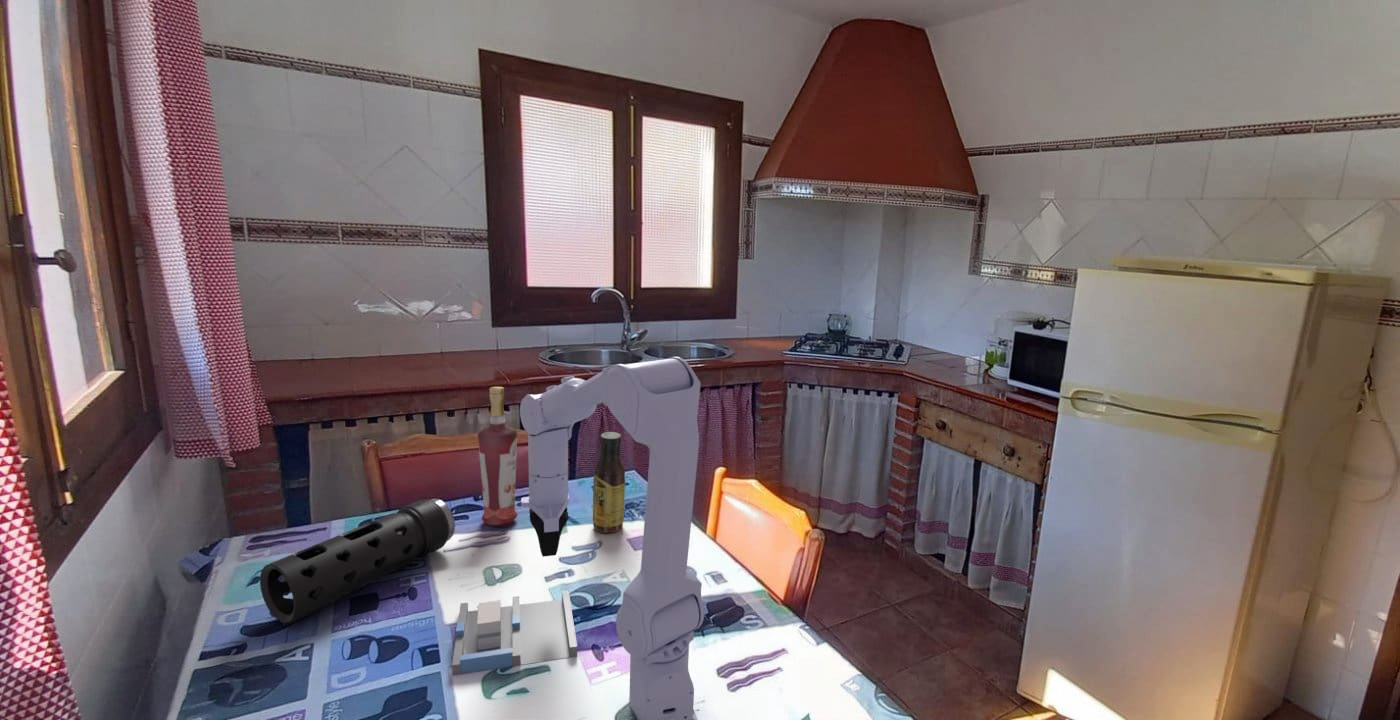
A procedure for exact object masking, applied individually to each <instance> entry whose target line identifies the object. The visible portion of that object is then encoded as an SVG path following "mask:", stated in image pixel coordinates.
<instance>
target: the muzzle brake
mask: <svg viewBox="0 0 1400 720" xmlns="http://www.w3.org/2000/svg"><path fill="white" fill-rule="evenodd" d="M455 530H456V523H455V518H454V514H453V512H452V510H451V509H450V507H449V506H448V505H447V503H445V502H444V500H442V499H439V498H432V499H427V498H426V499H425V498H424V499H419V500H417V501H415V502H412V503H410V504H407V505H405V506H402V507H401V508H400V509H398V510H397V511H396V512H394V513H393V512H392V513H390V514H387V515H385V516H382V517H380V518H377V519H375V520H373V521H369V522H368V523H365V524H362V525H360V526H358V527H356V528H355V527H354V528H353V529H351V530H348V531H346V532H344V533H341V534H337V535H336V536H334V537H330V538H329V539H326V540H324V541H321V542H319V543H316V544H314V545H312V546H309V547H307V548H304V549H302V550H299V551H297V552H295V553H292V554H290V555H287V556H285V557H282V558H280V559H278V560H275V561H273V562H270V563H268V564H265V565H264V566H263V567H262V568H261V569H262V570H261V572H260V576H259V584H260V592H261V596H262V598H263V602H264V603H265V605H266V608H267V609H268V611H269V612H270V613H271V614H272V616H273V617H274V618H275V619H276V620H278V621H279V622H280V623H282V625H285V626H290V625H291V624H294V623H296V622H298V621H300V620H302V619H304V618H306V617H307V616H310V615H312V614H313V613H315V612H317V611H318V612H319V610H322V609H324V608H325V607H328V606H330V605H331V604H334V603H335V602H337V601H340V600H341V599H343V598H345V597H347V596H348V595H349V594H350V593H352V592H354V591H356V590H361V589H364V587H365V586H366V585H368V584H369V583H372V582H373V581H375V580H377V579H380V578H381V577H383V576H384V577H385V576H386V575H387V574H390V573H392V572H393V571H394V572H400V571H401V570H403V569H405V568H408V567H409V566H411V565H413V564H414V563H415V560H416V559H419V558H420V559H422V558H425V557H427V556H428V555H431V554H433V553H435V552H436V551H439V550H441V549H442V548H444V546H445V545H446V543H447V542H448V541H449V540H451V539H452V537H453V536H454V534H455ZM281 576H282V577H284V578H283V580H279V578H280V577H281ZM289 594H291V596H292V598H286V597H284V596H289Z"/></svg>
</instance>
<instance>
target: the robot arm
mask: <svg viewBox="0 0 1400 720" xmlns="http://www.w3.org/2000/svg"><path fill="white" fill-rule="evenodd" d="M560 382H561V384H558V385H550V386H548V387H546V388H545V389H546V391H545V392H542V393H538V394H531V393H530V394H529V393H528V394H526V395H525V397H523V398H522V400H521V402H520V406H519V416H520V421H521V424H522V427H523V429H524V430H525V432H526V433H527V435H528V436H527V438H528V439H527V443H528V445H527V447H528V448H527V449H528V450H527V451H528V454H527V455H528V496H524V497H522V498H520V506H521V507H523V508H525V507H526V508H527V507H528V508H529V511H528V512H529V521H530V524H531V526H532V527H533V529H534V530H535V532H536V536H537V539H538V545H539V550H540V553H541V556H542V557H551V556H552V557H553V556H557V552H558V549H559V544H560V540H561V535H562V532H563V530H564V527H565V526H566V524H567V522H568V520H569V512H568V506H569V504H570V495H569V470H568V469H569V456H568V455H569V453H568V452H569V447H568V446H569V440H571V438H572V432H573V427H574V425H575V423H577V422H580V421H582V420H586V419H588V418H590V416H592V415H593V414H594V413H595V411H596V409H597V405H599V404H602V403H603V406H606V407H607V408H608V410H609V411H610V412H611V414H612V416H614V418H616V420H617V421H618V423H619V424H620V425H621V426H622V427H623V428H624V430H626V432H627V433H628V434H629V436H630V437H631V438H632V439H633V440H634V441H635V442H636V443H640V444H641V445H645V446H647V448H648V449H649V459H648V461H649V462H648V471H647V472H648V473H647V485H646V486H647V487H646V497H645V498H646V499H645V500H646V501H645V512H644V524H643V537H642V547H641V548H642V549H641V562H640V570H639V571H638V573H637V575H636V576H635V577H634V578H633V579H632V580H631V582H630V583H629V584H628V585H627V586H626V588H625V589H624V591H623V593H622V594H623V595H622V602H621V605H620V607H619V608H618V610H617V614H616V618H615V620H616V621H615V628H616V629H615V630H616V633H617V636H618V640H619V642H620V645H621V646H622V647H623V649H624V650H625V651H626V652H627V653H628V654H629V655H630V656H629V657H630V658H629V659H630V663H629V699H628V700H629V706H630V709H631V710H632V712H633V714H635V716H636V718H637V719H635V720H698V718H697V716H696V713H695V711H694V704H695V703H694V699H695V688H694V683H693V680H692V678H691V675H690V671H689V656H690V655H689V653H690V643H691V641H693V640H694V638H695V635H694V633H695V630H697V629H699V628H700V627H702V624H703V622H704V619H705V609H704V604H703V602H704V601H703V598H702V582H701V581H700V579H699V578H698V577H697V576H696V575H695V574H694V573H693V572H692V571H690V570H689V569H687V568H688V567H687V566H688V558H689V549H690V548H689V546H690V537H691V527H692V518H693V509H694V498H695V489H696V478H697V467H698V459H699V448H700V447H699V446H700V433H699V427H698V413H699V406H700V405H699V403H700V393H701V381H700V380H699V378H698V376H697V375H696V373H695V372H694V370H693V368H692V367H691V365H690V364H689V363H688V362H687V361H686V360H685V359H684V358H683V357H679V356H671V357H668V358H665V359H657V360H650V361H642V362H636V363H627V364H623V363H618V364H614V365H612V366H609V367H603V368H602V370H601V371H600V372H599V373H597V374H595V375H594V376H592V377H590V378H588V379H587V380H585V379H584V378H583V379H582V378H580V377H579V378H578V377H575V376H574V375H571V376H564V377H562V378H561V379H560Z"/></svg>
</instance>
